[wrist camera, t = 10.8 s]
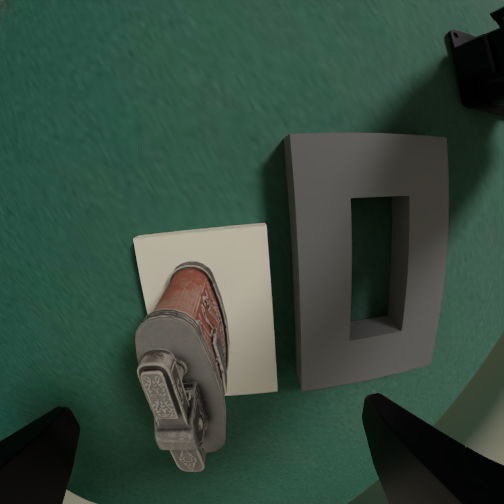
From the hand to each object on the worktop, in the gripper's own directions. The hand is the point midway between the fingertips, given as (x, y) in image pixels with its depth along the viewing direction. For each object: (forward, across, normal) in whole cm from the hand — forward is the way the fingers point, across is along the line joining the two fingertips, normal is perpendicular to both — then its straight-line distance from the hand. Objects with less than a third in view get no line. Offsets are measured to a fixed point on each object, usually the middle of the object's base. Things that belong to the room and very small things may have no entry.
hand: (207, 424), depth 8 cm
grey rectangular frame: (+13, -9, 0) cm, 16 cm away
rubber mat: (+12, +1, +3) cm, 13 cm away
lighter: (+12, +2, +2) cm, 12 cm away
